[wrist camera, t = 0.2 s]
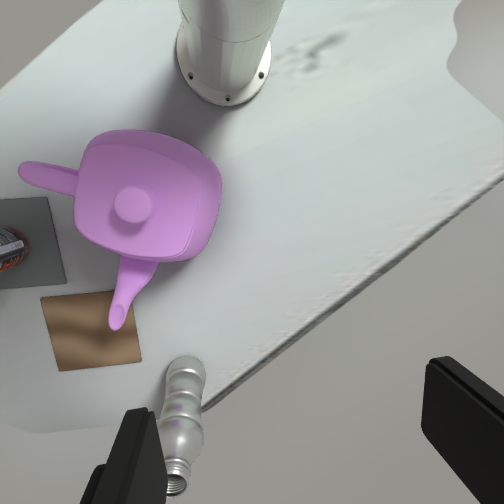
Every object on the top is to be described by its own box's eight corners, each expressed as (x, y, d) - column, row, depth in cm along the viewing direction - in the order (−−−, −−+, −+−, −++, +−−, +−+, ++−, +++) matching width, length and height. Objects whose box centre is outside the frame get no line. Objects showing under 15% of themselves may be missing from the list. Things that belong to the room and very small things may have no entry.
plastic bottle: (181, 344, 48) (159, 453, 29) (214, 361, 50) (213, 475, 31) (161, 372, 49) (126, 496, 30) (194, 388, 51) (181, 515, 32)
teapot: (79, 111, 38) (-4, 69, 23) (231, 157, 42) (239, 146, 27) (58, 268, 43) (-23, 314, 28) (195, 296, 47) (187, 349, 32)
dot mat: (-55, 202, 38) (-57, 202, 38) (47, 197, 40) (45, 197, 40) (-27, 290, 42) (-28, 291, 41) (66, 282, 43) (65, 283, 43)
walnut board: (42, 297, 43) (40, 298, 43) (129, 289, 45) (128, 290, 44) (60, 369, 47) (59, 371, 46) (141, 359, 48) (141, 361, 48)
